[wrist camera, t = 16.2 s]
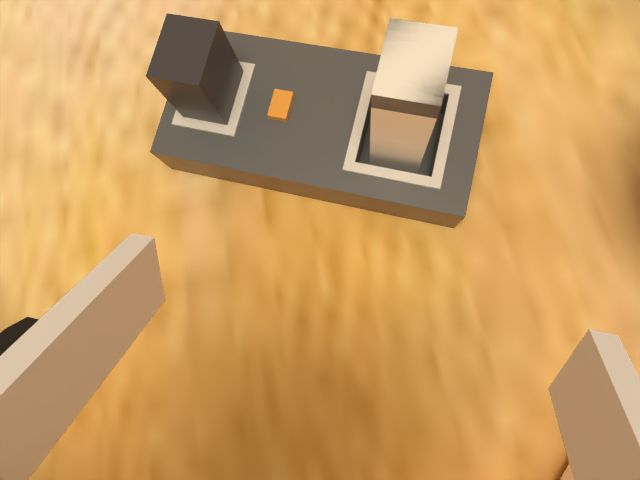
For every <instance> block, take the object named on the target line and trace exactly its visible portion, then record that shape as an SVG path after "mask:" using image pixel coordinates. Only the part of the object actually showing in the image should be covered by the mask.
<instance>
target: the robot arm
mask: <svg viewBox="0 0 640 480" xmlns="http://www.w3.org/2000/svg"><path fill="white" fill-rule="evenodd" d="M164 301H165V297H164V291H163V285H162V279H161V274H160V268H159V262H158V256H157V250H156V245H155V239H154V237H150V236H145V235H140V234H136V233H131V234H130V235H129V236H128V237H127V238H126V239H125V240H124V241H123V242H122V243H121V244H119V245H118V246H117V247H116V248H115V249H114V250H113V251H112V252H111V253H110V254H109V255H108V256H107V257H106V258H105V259H103V260H102V261H101V262H100V263H99V264H98V265H97V266H96V267H95V268H94V269H93V270H92V271H91V272H90V273H88V274H87V275H86V276H85V277H84V278H83V279H82V280H81V281H80V282H79V283H78V284H77V285H76V286H75V287H73V288H72V289H71V290H70V291H69V292H68V293H67V294H66V295H65V296H64V297H63V298H62V299H61V300H60V301H58V302H57V303H56V304H55V305H54V306H53V307H52V308H51V309H50V310H49V311H48V312H47V313H46V314H45V315H44V316H42V317H41V318H40V319H39V320H38V319H34V318H30V317H26V318H25V319H23V320H21V321H19V322H17V323H15V324H14V325H12V326H10V327H8V328H6V329H5V330H3V331H2V332H1V333H0V480H28V479H29V478H30V477H31V475H32V474H33V473H34V472H35V470H36V469H37V468H38V466H39V465H40V464H41V462H42V461H43V460H44V458H45V457H46V456H47V455H48V453H49V452H50V451H51V449H52V448H53V447H54V445H55V444H56V443H57V441H58V440H59V439H60V437H61V436H62V435H63V434H64V432H65V431H66V430H67V428H68V427H69V426H70V424H71V423H72V422H73V420H74V419H75V418H76V417H77V415H78V414H79V413H80V411H81V410H82V409H83V407H84V406H85V405H86V403H87V402H88V401H89V400H90V398H91V397H92V396H93V394H94V393H95V392H96V390H97V389H98V388H99V386H100V385H101V384H102V382H103V381H104V380H105V379H106V377H107V376H108V375H109V373H110V372H111V371H112V369H113V368H114V367H115V365H116V364H117V363H118V362H119V360H120V359H121V358H122V356H123V355H124V354H125V352H126V351H127V350H128V348H129V347H130V346H131V344H132V343H133V342H134V341H135V339H136V338H137V337H138V335H139V334H140V333H141V331H142V330H143V329H144V327H145V326H146V325H147V324H148V322H149V321H150V320H151V318H152V317H153V316H154V314H155V313H156V312H157V310H158V309H159V308H160V307H161V305H162V304H163V303H164ZM548 389H549V392H550V396H551V400H552V403H553V407H554V410H555V414H556V417H557V421H558V425H559V428H560V432H561V435H562V439H563V443H564V446H565V450H566V453H567V457H568V460H569V464H570V468H571V471H572V475H573V478H574V480H640V378H639V376H638V374H637V372H636V370H635V368H634V366H633V364H632V362H631V360H630V358H629V356H628V354H627V352H626V350H625V348H624V346H623V344H622V342H621V340H620V338H619V336H618V335H615V334H610V333H606V332H601V331H596V330H591V329H589V330H588V331H587V333H586V334H585V336H584V337H583V339H582V340H581V341H580V343H579V344H578V346H577V347H576V349H575V350H574V352H573V353H572V355H571V356H570V358H569V359H568V360H567V362H566V363H565V365H564V366H563V368H562V369H561V371H560V372H559V374H558V375H557V377H556V378H555V379H554V381H553V382H552V384H551V385H550V387H549V388H548Z"/></svg>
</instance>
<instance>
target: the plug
mask: <svg viewBox="0 0 640 480" xmlns="http://www.w3.org/2000/svg"><path fill="white" fill-rule="evenodd" d="M457 31H458V28H456V27H449V26H442V25H435V24H428V23H421V22H413V21H406V20H399V19H392V18H390V19H389V24H388V28H387V32H386V36H385V40H384V44H383V48H382V52H381V56H380V61H379V65H378V69H377V73H376V77H375V81H374V85H373V89H372V93H371V122H370V160H369V165H373V166H378V167H384V168H389V169H394V170H399V171H404V172H409V173H414V174H417V172H418V170H419V167H420V164H421V161H422V158H423V156H424V153H425V150H426V147H427V145H428V142H429V139H430V136H431V134H432V131H433V128H434V125H435V123H436V120H437V117H438V114H439V111H440V109H441V106H442V101H443V96H444V92H445V87H446V82H447V78H448V73H449V68H450V64H451V59H452V54H453V50H454V45H455V40H456V36H457Z"/></svg>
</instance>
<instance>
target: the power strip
mask: <svg viewBox="0 0 640 480" xmlns="http://www.w3.org/2000/svg"><path fill="white" fill-rule="evenodd" d="M380 56H381V55H376V54H369V53H363V52H356V51H350V50H343V49H337V48H330V47H324V46H317V45H311V44H304V43H298V42H291V41H285V40H278V39H272V38H266V37H259V36H253V35H246V34H240V33H233V32H227V31H223V29H222V27H221V25H220V22H219V21H213V20H207V19H200V18H193V17H187V16H180V15H173V14H167V15H166V18H165V21H164V24H163V27H162V30H161V33H160V36H159V39H158V42H157V45H156V48H155V51H154V54H153V57H152V60H151V63H150V66H149V69H148V72H147V75H146V77H147V78H148V79H149V80H150V81H151V82H152V84H153V85H154V86H155V87H156V88H157V89H158V90H159V91H160V92H161V93H162V94H163V96H164V97H165V98H166V99H167V102H166V105H165V108H164V111H163V114H162V117H161V120H160V123H159V126H158V129H157V132H156V135H155V138H154V142H153V145H152V148H151V151H150V152H151V153H152V154H153V155H155V156H156V157H157V158H159V159H160V160H161V161H163V162H164V163H165V164H166V165H168V166H169V167H170V168H172V169H176V170H181V171H185V172H190V173H195V174H200V175H204V176H209V177H214V178H219V179H223V180H228V181H233V182H238V183H242V184H247V185H252V186H257V187H261V188H266V189H271V190H276V191H280V192H285V193H290V194H294V195H299V196H304V197H309V198H313V199H318V200H323V201H328V202H332V203H337V204H342V205H347V206H351V207H356V208H361V209H366V210H370V211H375V212H380V213H385V214H389V215H394V216H399V217H404V218H408V219H413V220H418V221H423V222H427V223H432V224H437V225H441V226H446V227H451V228H454V227H455V226H456V225H457V224H458V223H459V222H460V221H461V220H462V219H463V218H464V217H465V215H466V210H467V204H468V199H469V194H470V189H471V184H472V179H473V174H474V169H475V164H476V158H477V153H478V148H479V143H480V138H481V133H482V128H483V123H484V118H485V113H486V107H487V102H488V97H489V92H490V87H491V82H492V77H493V73H492V72H486V71H479V70H473V69H466V68H460V67H453V66H450V68H449V73H448V78H447V82H446V87H445V92H444V96H443V101H442V106H441V109H440V111H439V114H438V117H437V120H436V123H435V125H434V128H433V131H432V134H431V136H430V139H429V142H428V145H427V147H426V150H425V153H424V156H423V158H422V161H421V164H420V167H419V170H418V172H417V174H414V173H409V172H404V171H399V170H394V169H389V168H384V167H378V166H373V165H369V160H370V122H371V93H372V89H373V85H374V81H375V77H376V73H377V69H378V65H379V61H380Z"/></svg>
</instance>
